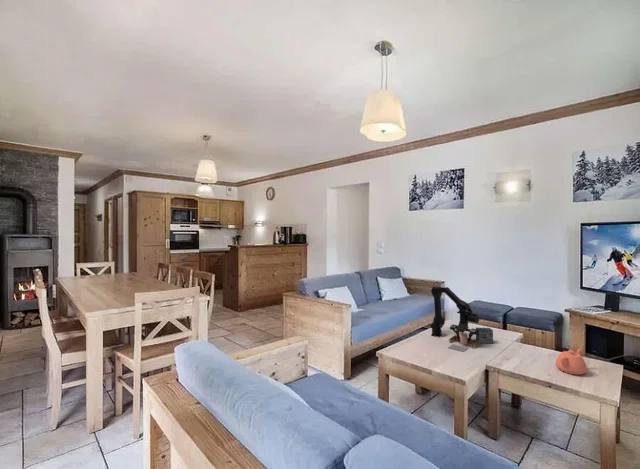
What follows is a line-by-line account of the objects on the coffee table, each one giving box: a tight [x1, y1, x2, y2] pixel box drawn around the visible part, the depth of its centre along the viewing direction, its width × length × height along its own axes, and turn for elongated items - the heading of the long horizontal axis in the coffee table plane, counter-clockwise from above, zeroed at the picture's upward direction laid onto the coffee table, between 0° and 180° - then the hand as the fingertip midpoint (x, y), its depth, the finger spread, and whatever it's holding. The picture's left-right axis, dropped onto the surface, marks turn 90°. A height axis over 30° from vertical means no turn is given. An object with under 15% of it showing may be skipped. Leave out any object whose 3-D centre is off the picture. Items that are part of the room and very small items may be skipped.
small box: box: [475, 327, 494, 345], centre depth 244 cm, size 11×6×10 cm, turn 84°
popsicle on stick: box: [459, 332, 468, 346], centre depth 241 cm, size 5×7×8 cm
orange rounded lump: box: [555, 347, 588, 376], centre depth 195 cm, size 22×15×12 cm
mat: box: [448, 344, 469, 353], centre depth 232 cm, size 11×9×1 cm
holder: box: [448, 334, 481, 349], centre depth 241 cm, size 18×11×3 cm, turn 47°
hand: (463, 340), depth 240 cm, fingers open, 7 cm apart
